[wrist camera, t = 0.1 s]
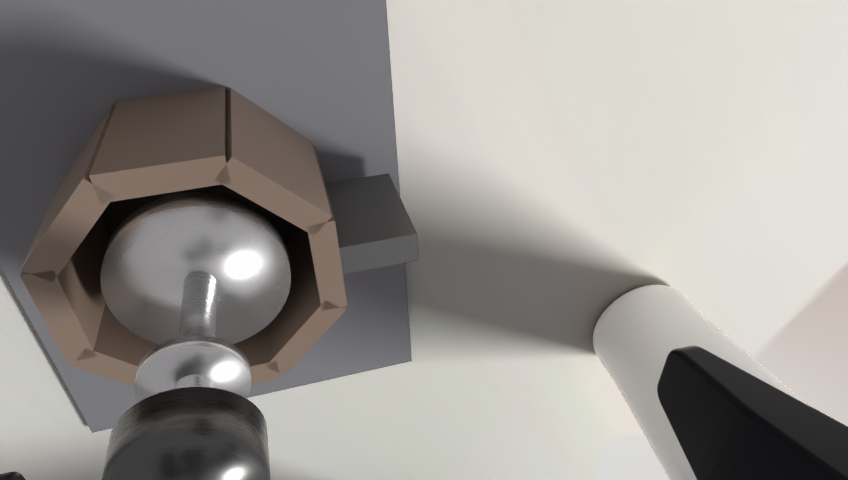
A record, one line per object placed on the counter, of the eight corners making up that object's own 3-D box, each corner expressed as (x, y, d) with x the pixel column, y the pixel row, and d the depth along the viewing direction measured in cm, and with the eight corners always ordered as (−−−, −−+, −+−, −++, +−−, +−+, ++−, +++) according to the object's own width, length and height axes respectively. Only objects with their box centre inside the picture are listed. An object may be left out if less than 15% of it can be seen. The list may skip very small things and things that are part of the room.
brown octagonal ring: (392, 262, 25) (424, 346, 21) (119, 315, 23) (96, 418, 19) (375, 67, 20) (412, 127, 16) (29, 111, 18) (-25, 192, 14)
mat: (410, 356, 29) (411, 360, 28) (93, 427, 26) (92, 432, 26) (373, -144, 17) (375, -143, 17) (-201, -108, 15) (-208, -107, 14)
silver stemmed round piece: (300, 314, 20) (334, 538, 14) (137, 347, 19) (92, 605, 13) (272, 178, 17) (299, 385, 11) (77, 209, 16) (-18, 456, 10)
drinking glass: (549, 345, 31) (752, 674, 19) (642, 246, 29) (938, 549, 17) (628, 380, 34) (841, 677, 22) (717, 295, 32) (1005, 574, 20)
